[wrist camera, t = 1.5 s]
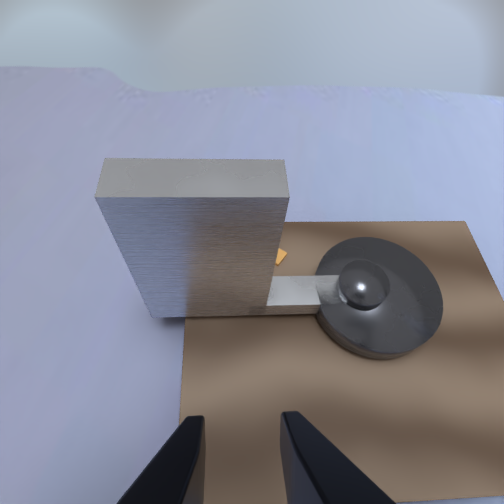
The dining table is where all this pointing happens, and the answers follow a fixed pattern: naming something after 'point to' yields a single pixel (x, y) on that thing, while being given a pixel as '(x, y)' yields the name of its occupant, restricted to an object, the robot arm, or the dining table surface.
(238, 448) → the walnut stand plate
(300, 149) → the dining table surface
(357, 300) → the lever
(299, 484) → the robot arm
